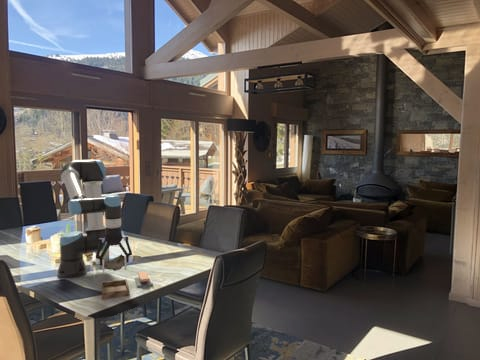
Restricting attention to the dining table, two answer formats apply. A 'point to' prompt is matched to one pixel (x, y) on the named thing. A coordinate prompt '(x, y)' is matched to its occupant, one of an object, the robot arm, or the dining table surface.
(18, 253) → the dining table surface
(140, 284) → the checker base
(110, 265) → the rock
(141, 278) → the checker pad
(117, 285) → the tray
